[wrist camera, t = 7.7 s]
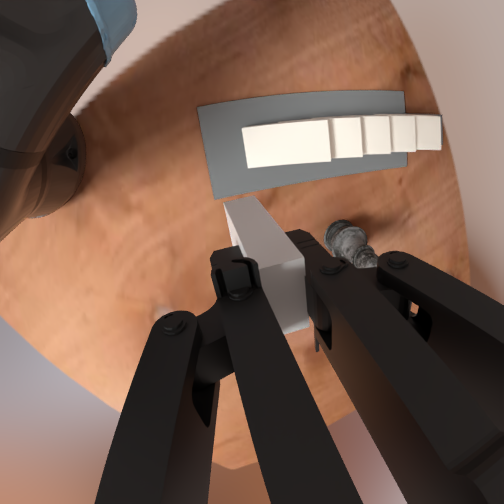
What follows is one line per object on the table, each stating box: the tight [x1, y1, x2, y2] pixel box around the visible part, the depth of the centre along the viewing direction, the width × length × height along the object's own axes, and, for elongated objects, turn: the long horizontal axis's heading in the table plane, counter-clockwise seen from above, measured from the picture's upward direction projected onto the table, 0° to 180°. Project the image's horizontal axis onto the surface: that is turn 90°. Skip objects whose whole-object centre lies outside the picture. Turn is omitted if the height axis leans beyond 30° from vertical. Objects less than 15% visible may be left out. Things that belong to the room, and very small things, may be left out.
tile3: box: [312, 115, 391, 155], centre depth 36 cm, size 2×5×10 cm
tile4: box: [347, 115, 416, 152], centre depth 36 cm, size 2×5×10 cm
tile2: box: [278, 117, 363, 158], centre depth 35 cm, size 2×5×10 cm
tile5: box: [374, 114, 441, 150], centre depth 37 cm, size 2×5×10 cm
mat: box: [197, 90, 407, 200], centre depth 38 cm, size 30×12×1 cm, turn 98°
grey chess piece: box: [324, 220, 378, 268], centre depth 40 cm, size 6×6×12 cm
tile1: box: [242, 119, 331, 168], centre depth 35 cm, size 2×5×10 cm
